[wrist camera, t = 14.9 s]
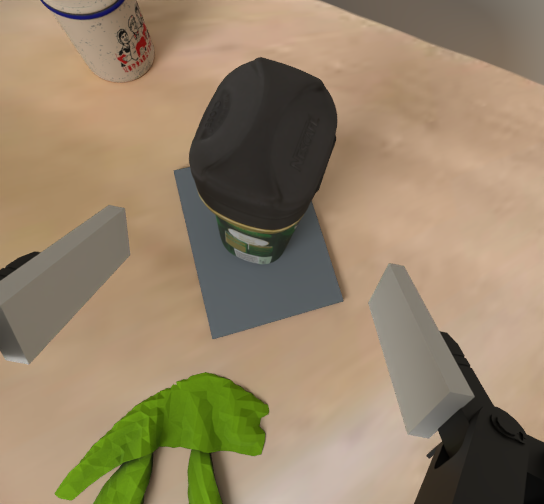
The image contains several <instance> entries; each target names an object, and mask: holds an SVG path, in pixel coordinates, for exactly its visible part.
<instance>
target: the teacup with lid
mask: <svg viewBox="0 0 544 504" xmlns="http://www.w3.org/2000/svg"><path fill="white" fill-rule="evenodd" d="M41 2H42V3H43V4H44V5H45V6H46V7H47V8H48V9H49V10H50V11H51V12H52V14H53V15H54V17H55V18H56V20H57V21H58V23H59V24H60V26H61V27H62V28H63V30H64V31H65V33H66V34H67V36H68V37H69V39H70V40H71V42H72V43H73V45H74V46H75V48H76V49H77V51H78V52H79V54H80V55H81V57H82V58H83V59H84V61H85V62H86V64H87V65H88V67H89V68H90V69H91V71H92V72H93V73H94V74H96V75H97V76H99V77H100V78H102V79H104V80H107V81H111V82H129V81H132V80H135V79H137V78H139V77H141V76H142V75H144V74H145V73H146V72H147V71H148V70H149V68H150V67H151V65H152V63H153V60H154V47H153V43H152V41H151V38H150V35H149V33H148V30H147V27H146V25H145V22H144V19H143V17H142V14H141V11H140V9H139V6H138V3H137V1H136V0H41Z"/></svg>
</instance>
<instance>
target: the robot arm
mask: <svg viewBox="0 0 544 504" xmlns="http://www.w3.org/2000/svg"><path fill="white" fill-rule="evenodd" d="M129 256H130V249H129V240H128V231H127V222H126V213H125V208H121V207H116V206H111V205H108V206H107V207H105V208H104V209H103V210H101V211H100V212H98V213H97V214H95V215H94V216H92V217H91V218H90V219H88V220H87V221H85V222H84V223H82V224H81V225H80V226H78V227H77V228H75V229H74V230H72V231H71V232H70V233H68V234H67V235H65V236H64V237H62V238H61V239H60V240H58V241H57V242H55V243H54V244H52V245H51V246H50V247H48V248H47V249H45V250H44V251H42V252H41V253H40V252H32V253H30V254H27V255H25V256H22V257H19V258H17V259H16V260H14V261H13V262H11V263H10V264H8V265H7V266H6V268H2V269H1V270H0V351H1V352H2V354H3V356H4V358H5V360H8V361H13V362H18V363H24V364H30V363H31V362H32V361H33V360H34V359H35V357H36V356H37V355H38V354H39V353H40V352H41V351H42V350H43V349H44V348H45V347H46V346H47V345H48V343H49V342H50V341H51V340H52V339H53V338H54V337H55V336H56V335H57V334H58V333H59V332H60V330H61V329H62V328H63V327H64V326H65V325H66V324H67V323H68V322H69V321H70V320H71V319H72V317H73V316H74V315H75V314H76V313H77V312H78V311H79V310H80V309H81V308H82V307H83V306H84V304H85V303H86V302H87V301H88V300H89V299H90V298H91V297H92V296H93V295H94V294H95V293H96V291H97V290H98V289H99V288H100V287H101V286H102V285H103V284H104V283H105V282H106V281H107V280H108V278H109V277H110V276H111V275H112V274H113V273H114V272H115V271H116V270H117V269H118V268H119V267H120V265H121V264H122V263H123V262H124V261H125V260H126V259H127V258H128V257H129ZM368 304H369V307H370V310H371V314H372V317H373V320H374V324H375V327H376V330H377V334H378V337H379V340H380V344H381V347H382V350H383V354H384V357H385V360H386V364H387V367H388V370H389V374H390V377H391V380H392V384H393V387H394V390H395V394H396V397H397V400H398V404H399V407H400V410H401V414H402V417H403V420H404V424H405V427H406V430H407V434H408V435H413V436H418V437H423V438H430V437H431V436H432V435H433V434H434V433H435V432H436V431H438V432H439V434H440V437H441V439H442V442H441V443H440V444H438V445H437V446H436V447H435V448H434V449H433V450H431V451H430V452H429V453H428V454H427V457H428V458H431V457H432V456H433V455H434V456H433V458H432V461H431V463H430V466H429V468H428V471H427V473H426V476H425V478H424V481H423V483H422V485H421V488H420V490H419V493H418V495H417V498H416V500H415V503H414V504H544V442H542V441H540V440H537V439H535V438H533V437H531V436H529V435H527V434H526V433H525V431H524V429H523V428H522V427H521V426H520V424H519V423H518V422H517V421H516V420H515V419H514V418H513V417H512V416H510V415H509V414H508V413H507V412H505V411H503V410H502V409H500V408H498V407H495V406H494V405H493V404H492V402H491V400H490V399H489V397H488V395H487V393H486V392H485V390H484V388H483V387H482V385H481V383H480V381H479V380H478V378H477V376H476V375H475V373H474V371H473V369H472V368H470V364H469V363H468V361H467V359H466V358H464V354H463V352H462V351H461V349H460V347H459V345H458V344H457V343H456V342H455V341H454V340H453V339H452V338H451V337H450V336H449V334H448V333H445V332H440V331H439V330H438V328H437V326H436V324H435V322H434V320H433V319H432V317H431V315H430V313H429V311H428V309H427V308H426V306H425V304H424V302H423V300H422V298H421V296H420V295H419V293H418V291H417V289H416V287H415V285H414V284H413V282H412V280H411V278H410V276H409V274H408V273H407V271H406V269H405V267H404V266H401V265H396V264H391V263H389V264H388V266H387V268H386V270H385V272H384V274H383V276H382V278H381V279H380V281H379V283H378V285H377V287H376V289H375V291H374V293H373V295H372V297H371V299H370V300H369V302H368Z"/></svg>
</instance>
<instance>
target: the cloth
mask: <svg viewBox="0 0 544 504" xmlns="http://www.w3.org/2000/svg"><path fill="white" fill-rule="evenodd" d="M268 413H269V408H268V405H267V404H264V403H263V402H262V401H261V400H259V399H257V398H256V397H255V396H254V395H253V394H252V393H249V392H247V391H245V390H244V389H243V388H242V387H240V386H238V385H235V384H234V383H233V382H232V381H231V380H229V379H226V378H224V377H219V376H217V375H215V374H211V373H207V372H205V373H201V374H197V375H193V376H190V377H189V378H188V379H183V380H181V381H177V385H174V384H173V385H172V387H171V388H166V389H165V390H162V391H160V392H158V393H157V394H155V395H154V396H151V397H149V398H148V399H147V400H144V401H143V402H142V403H140V404H138V405H136V406H135V407H134V408H133V409H132V410H131V411H129V412H128V413H127V415H126V416H125V417H123V418H122V419H121V420H120V421H119V422H117V423H115V425H114V426H113V428H112V429H111V430H110V431H108V432H107V433H106V435H105V436H103V437H102V438H101V439H100V440H99V441H98V442H97V443H95V444H94V445H93V446H92V447H91V449H90V450H89V451H88V452H87V454H86V455H85V457H84V458H83V459H82V460H81V461H80V463H79V464H78V465H77V466H76V467H75V468H74V469H73V470H71V471H70V472H69V473H68V475H67V476H66V478H65V479H64V480H63V482H62V483H61V485H60V486H59V488H58V489H57V491H56V492H55V495H56V496H57V497H59V498H61V499H66V500H73V499H74V498H75V497H77V496H78V495H79V494H80V493H81V492H82V491H83V490H85V489H86V488H87V487H88V486H89V485H91V484H92V483H93V482H95V481H96V480H97V479H99V478H100V477H101V476H103V475H104V474H106V473H107V472H109V471H111V470H112V469H114V468H115V467H117V466H119V465H121V464H122V465H121V466H120V468H119V469H118V470H117V471H116V472H115V473H114V474H113V475H112V476H111V477H110V479H109V480H108V481H107V482H106V483H105V485H104V486H103V488H102V489H101V491H100V493H99V495H98V496H97V498H96V500H95V502H94V503H93V504H143V502H144V493H145V491H146V488H147V486H148V484H149V480H150V477H151V473H152V466H153V452H154V451H155V450H156V449H157V448H158V447H172V448H176V447H183V448H187V449H192V450H191V454H190V459H189V465H188V484H189V486H188V499H189V504H223V503H222V500H221V497H220V494H219V491H218V488H217V485H216V482H215V476H214V470H213V464H212V458H211V453H212V452H217V451H232V452H237V453H240V454H245V455H251V456H256V455H261V453H262V449H263V446H264V442H265V432H264V431H263V430H262V429H261V428H260V427H259V425H260V421H261V418H262V417H264V416H266V415H268Z"/></svg>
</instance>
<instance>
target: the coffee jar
mask: <svg viewBox="0 0 544 504" xmlns="http://www.w3.org/2000/svg"><path fill="white" fill-rule="evenodd" d="M336 128H337V112H336V108H335V104H334V102H333V99H332V97H331V95H330V93H329V92H328V90H327V89H326V87H325V86H324V84H323V82H322V81H321V80H320V79H319V78H316V77H314V76H312V75H310V74H308V73H306V72H304V71H301V70H299V69H296V68H294V67H291V66H288V65H285V64H282V63H279V62H276V61H273V60H269V59H265V58H262V57H260V58H256V59H255V60H254V61H251V62H248V63H246V64H243V65H241V66H239V67H238V68H236V69H235V70H233V71H232V72H231V73H229V74H228V75H227V76H226V77H225V78H224V80H223V81H222V82H221V83H220V85H219V86H218V88H217V90H216V92H215V94H214V96H213V97H212V99H211V101H210V103H209V105H208V107H207V108H206V111H205V113H204V114H203V117H202V119H201V121H200V124H199V127H198V129H197V131H196V134H195V137H194V139H193V141H192V144H191V148H190V153H189V163H190V169H191V173H192V176H193V179H194V181H195V184H196V188H197V191H198V194H199V196H200V198H201V200H202V201H203V203H204V204H205V205H206V206H207V207H208V209H209V210H210V211H212V212H213V213H214V214H215V215H216V219H217V224H218V229H219V234H220V237H221V240H222V243H223V245H224V247H225V248H226V249H227V250H228V251H229V252H230V253H231V254H233V255H235V256H237V257H239V258H241V259H243V260H246V261H249V262H252V263H257V264H270V263H272V262H274V261H276V260H277V259H278V258H279V257H280V256H281V255H282V254H283V252H284V250H285V248H286V247H287V245H288V243H289V241H290V239H291V237H292V235H293V233H294V231H295V229H296V227H297V225H298V223H299V222H300V220H301V218H302V217H303V215H304V214H305V212H306V211H307V209H308V207H309V205H310V203H311V201H312V199H313V197H314V195H315V193H316V192H317V191H318V190H319V188H320V185H321V182H322V179H323V176H324V173H325V170H326V167H327V164H328V161H329V158H330V156H331V153H332V150H333V148H334V145H335V142H336V135H335V133H336Z"/></svg>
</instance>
